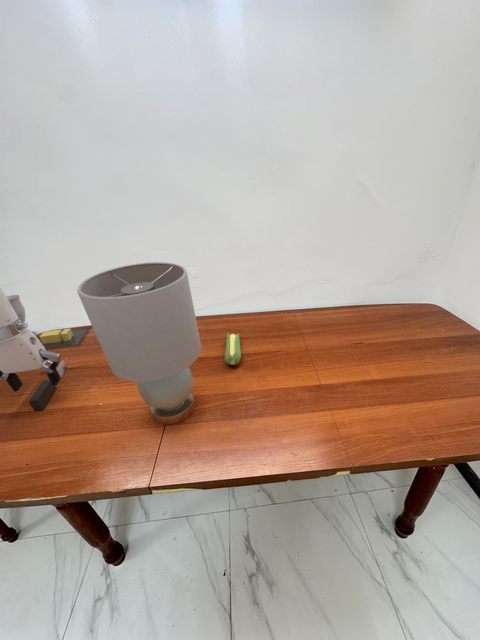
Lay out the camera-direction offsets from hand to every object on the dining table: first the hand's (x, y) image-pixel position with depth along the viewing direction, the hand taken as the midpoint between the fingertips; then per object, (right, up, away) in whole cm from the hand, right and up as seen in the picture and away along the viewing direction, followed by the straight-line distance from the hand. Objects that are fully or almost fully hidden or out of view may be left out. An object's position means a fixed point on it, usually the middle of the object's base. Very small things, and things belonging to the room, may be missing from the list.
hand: (38, 385), depth 79 cm
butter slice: (-11, +14, +29) cm, 34 cm away
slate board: (-13, +12, +30) cm, 35 cm away
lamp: (+38, -6, -3) cm, 38 cm away
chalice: (-25, +12, +30) cm, 41 cm away
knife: (-1, -1, +8) cm, 8 cm away
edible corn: (+51, +9, +18) cm, 55 cm away
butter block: (-16, +13, +29) cm, 35 cm away
